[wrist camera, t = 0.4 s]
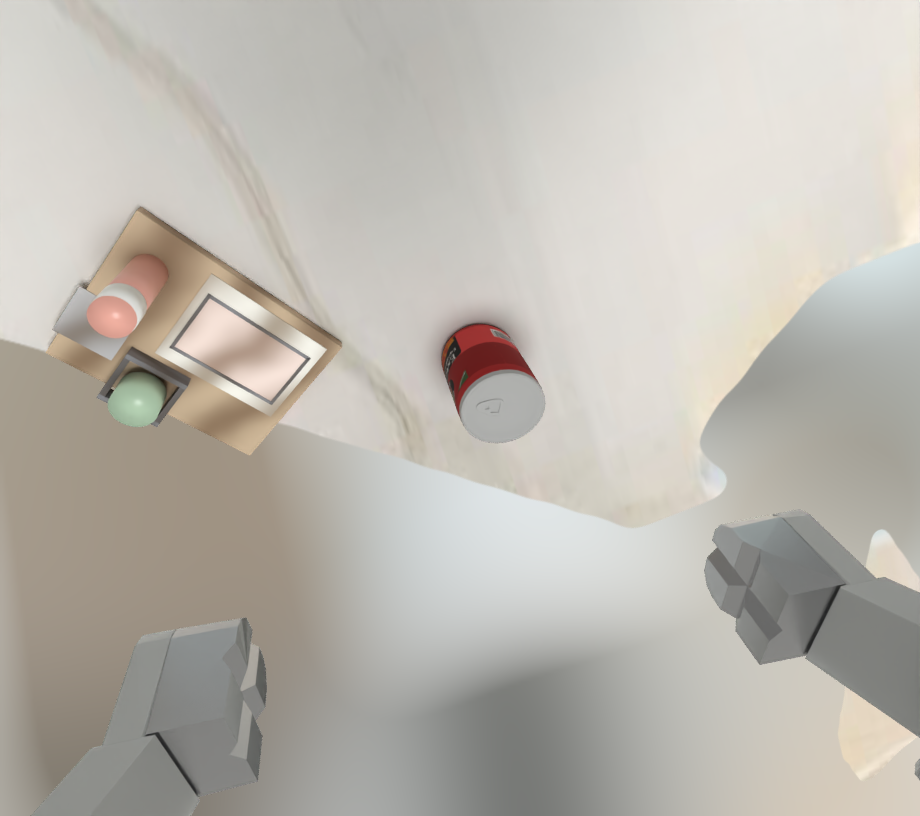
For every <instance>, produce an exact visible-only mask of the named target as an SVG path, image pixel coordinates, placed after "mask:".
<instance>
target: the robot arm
mask: <svg viewBox="0 0 920 816" xmlns="http://www.w3.org/2000/svg"><path fill="white" fill-rule="evenodd" d="M712 541H713V542H714V543H715V544H716V546H717V548H716V549H715V550H714V551H713V552H712V553H711V554H710V555H709V556H708V557H707V561H706V565H705V570H704V571H705V577H706V583H707V586H708V589H709V591H710V593H711V596H712V597H713V599H714V600H715V602H716V603H717V605H718V606H719V608H720V609H721V610H723V611H724V612H726V613H728V614H730V615H731V616H733V617H735V618H736V632H737V634H738V635H739V636H740V638H741V639H742V641H743V642H744V643H745V645H746V646H747V648H748V649H749V651H750V652H751V653H752V655H753V656H754V658H755V659H756V660H757V661H758V663H759V664H760V665H761V664H766V663H771V662H776V661H781V660H786V659H791V658H796V657H801V656H806V655H807V656H806V658H805V659H807V660H808V661H810V662H811V663H813V664H814V665H816V666H817V667H818V668H820V669H821V670H823V671H824V672H826V673H827V674H829V675H830V676H831V677H833V678H834V679H836V680H837V681H839V682H840V683H842V684H843V685H844V686H846V687H847V688H849V689H850V690H852V691H853V692H855V693H856V694H857V695H859V696H860V697H862V698H863V699H865V700H866V701H868V702H869V703H870V704H872V705H873V706H875V707H876V708H878V709H879V710H881V711H882V712H883V713H885V714H886V715H888V716H889V717H891V718H892V719H894V720H895V721H896V722H898V723H899V724H901V725H902V726H904V727H905V728H907V729H908V730H909V731H911V732H912V733H914V734H915V735H917V736H918V737H920V593H919V592H917V591H914V590H912V589H910V588H908V587H906V586H903V585H901V584H899V583H897V582H894V581H892V580H890V579H888V578H886V577H882V578H876V577H874V576H873V575H872V574H871V573H870V572H869V571H868V570H867V569H866V568H865V567H864V566H863V565H862V564H861V563H860V562H859V561H858V560H857V559H856V558H854V557H853V555H852V554H850V553H849V552H848V551H847V550H846V549H845V548H844V547H843V546H842V545H841V544H840V543H839V542H838V541H837V540H836V539H835V538H834V537H833V536H832V535H831V534H830V533H829V532H828V531H827V530H825V529H824V528H823V527H822V526H821V525H820V524H819V523H818V522H817V521H816V520H815V519H814V518H813V517H812V516H811V515H810V514H808V513H806V512H804V511H802V510H794V511H789V512H783V513H778V514H773V515H765V516H760V517H755V518H750V519H746V520H741V521H736V522H731V523H727V524H722V525H720V526H719V527H718V528H717V529H716V530H715V532H714V536H713V539H712ZM251 638H252V629H251V626H250V624H249V622H248V620H247V618H240V619H234V620H228V621H222V622H217V623H211V624H205V625H198V626H193V627H187V628H181V629H175V630H170V631H164V632H159V633H153V634H148V635H143V636H142V637H141V639H140V640H139V642H138V643H137V644H136V646H135V647H134V650H133V653H132V656H131V659H130V663H129V666H128V669H127V672H126V675H125V678H124V681H123V684H122V687H121V690H120V693H119V696H118V699H117V702H116V705H115V708H114V711H113V714H112V717H111V720H110V723H109V726H108V729H107V733H106V735H105V738H104V741H103V744H102V746H99V747H95V748H91V749H90V750H89V751H88V752H87V753H86V755H85V756H84V757H83V758H82V759H81V760H80V761H79V762H78V763H77V765H76V766H75V767H74V768H73V769H72V770H71V771H70V772H69V773H68V775H67V776H66V777H65V778H64V779H63V780H62V781H61V782H60V784H59V785H58V786H57V787H56V788H55V789H54V790H53V792H51V794H50V795H49V796H48V797H47V798H46V799H45V800H44V801H43V803H42V804H41V805H40V806H39V807H38V808H37V809H36V810H35V811H34V813H33V814H32V815H31V816H191V814H192V813H193V811H194V809H195V808H196V806H197V804H198V802H199V798H198V797H200V796H204V795H208V794H211V793H215V792H219V791H223V790H226V789H231V788H234V787H238V786H242V785H246V784H250V783H254V782H257V781H258V775H259V764H260V755H261V746H262V734H261V731H260V729H259V727H258V725H257V723H256V719H257V718H258V717H259V715H260V714H261V712H262V711H263V710H264V708H265V703H266V692H267V683H266V668H265V664H264V658H263V655H262V653H261V650H260V648H259V647H258V646H256V645H254V644H251ZM915 775H916V776H917V777H918V778H919V780H920V759H919V760H918V761H917V763H916V765H915Z"/></svg>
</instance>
